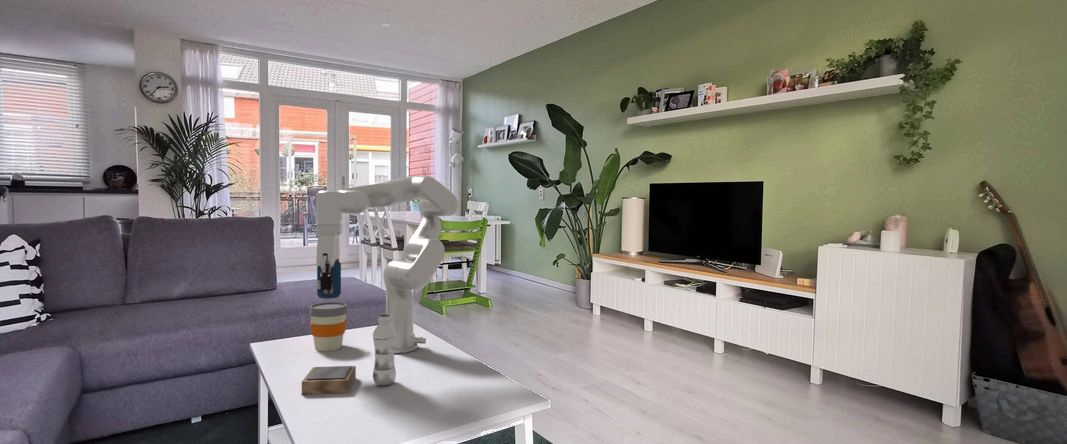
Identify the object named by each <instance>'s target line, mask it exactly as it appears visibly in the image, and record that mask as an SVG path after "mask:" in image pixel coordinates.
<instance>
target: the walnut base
mask: <svg viewBox="0 0 1067 444" xmlns="http://www.w3.org/2000/svg"><path fill="white" fill-rule="evenodd" d="M356 366H357V365H341V366H339V365H338V366H337V365H334V366H331V365H330V366H313V367H312V368H311V369H310V371H309V372H308V373H307V374H306V376H305V377H304V378H303V379H302V380H301V396H303V395H304V396H305V395H306V396H308V395H324V394H325V395H330V394H331V395H332V394H334V395H335V394H348V393H349V391H350V390H351V388H352V386H353V384H354V382H355V379H356V377H357V374H356V373H357V372H356V371H357V370H356V369H357V367H356Z"/></svg>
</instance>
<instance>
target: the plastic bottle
mask: <svg viewBox="0 0 1067 444" xmlns="http://www.w3.org/2000/svg"><path fill="white" fill-rule="evenodd" d="M390 322H392V320H391V315H389V314H386V313H385V314H378V317H377V323H378V324H377V326H376V327H375V329H374V330H373V333H372V339H373V340H372V341H373V346H374V367H373V371H372V380H373V383H374V384H375V385H377V386H388V385H391V384H394V382H395V381H396V377H397V371H396V370H397V369H396V365H395V353H394V345H395V338H396V332H395V329H394V327H393V326H392V325H391V323H390Z"/></svg>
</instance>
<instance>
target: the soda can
mask: <svg viewBox="0 0 1067 444" xmlns="http://www.w3.org/2000/svg"><path fill="white" fill-rule="evenodd" d="M326 266H329V264H326ZM319 267H320V266H319ZM320 270H321V267H320V268H318V267H317V266H316V295H317V296H318V298H319V299H321V300H334V299H338V298H340V295H341V294H342V264H341V262H340V258H339V259H338V260H336V261H335V264H334V267H332V268H331V276H332V289H331V290H321V289H320V273H321V271H320ZM328 270H329V269H328Z"/></svg>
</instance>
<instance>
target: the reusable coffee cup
mask: <svg viewBox="0 0 1067 444" xmlns="http://www.w3.org/2000/svg"><path fill="white" fill-rule="evenodd" d="M347 306H348V305H347V303H345V302H339V301H328V302H327V301H326V302H319V303H318V302H317V303H315V304H312V305H311V304H310V307H309V312H308V313H309V316H310V322H309V323H310V330H311V331H310V332H311V336H313V345H314V349H315V350H316V351H320V352H321V351H322V352H327V351H335V350H339V349H340V348H342V347H343V341H344V334H345V333H346V328H347V327H346V325H347V319H346V317H347V314H348V307H347Z"/></svg>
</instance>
